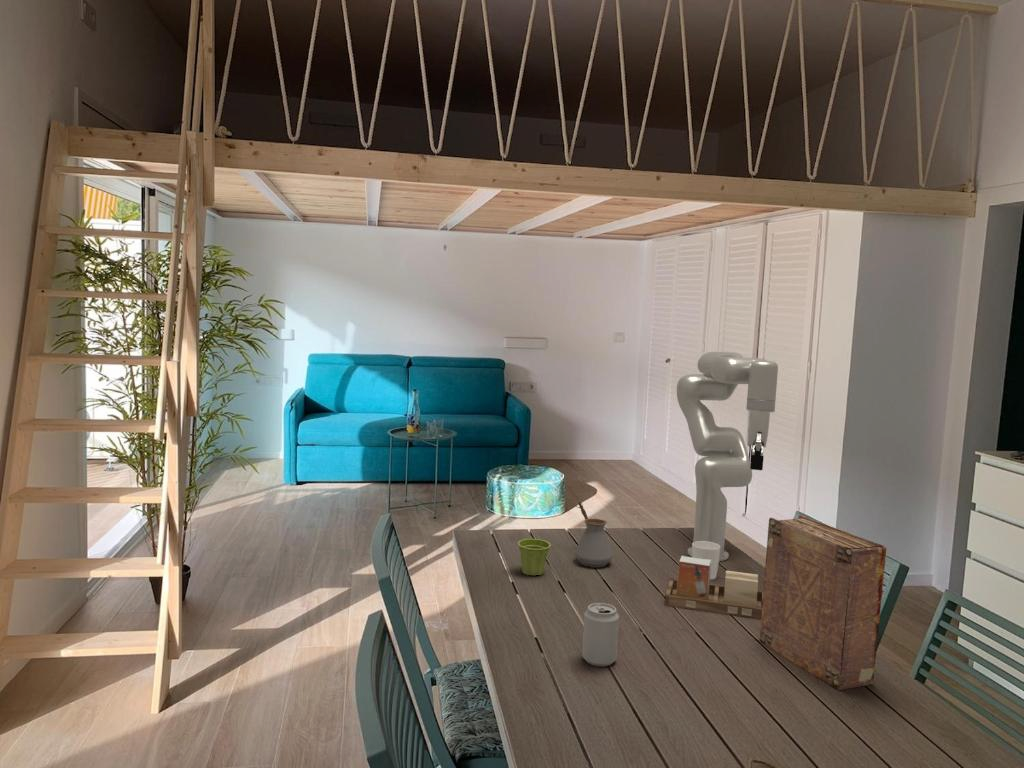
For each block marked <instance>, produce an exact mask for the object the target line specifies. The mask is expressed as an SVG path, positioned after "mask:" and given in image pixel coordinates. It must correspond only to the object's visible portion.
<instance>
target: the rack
mask: <svg viewBox="0 0 1024 768" xmlns="http://www.w3.org/2000/svg"><path fill="white" fill-rule="evenodd" d="M677 581H678V578H670V579H669V582H668V584H667V585H668V586H667V588H666V592H665V595H664V606H667V607H674V608H679V609H688V610H695V611H699V612H700V611H701V612H708V613H709V612H710V613H715V614H724V615H728V616H729V615H730V616H737V617H741V618H742V617H743V618H749V619H757V620H761V617H762V604H763V591H764V590H758V589H757V603H756V607H751V606H744V605H737V604H730V603H724V591H725V585H722V584H714V583H710V585H709V597H708V600H702V599H695V598H687V597H680V596H676V593H677Z"/></svg>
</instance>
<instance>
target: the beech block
mask: <svg viewBox="0 0 1024 768" xmlns="http://www.w3.org/2000/svg"><path fill="white" fill-rule="evenodd" d="M724 586H725V591H724V603H730V604H737V605H744V606H751V607H756V603H757V590H758V589H759V587H758V586H759V574H756V573H747V572H740V571H739V572H738V571H733V570H731V571H730V570H725V580H724Z"/></svg>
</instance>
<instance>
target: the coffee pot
mask: <svg viewBox="0 0 1024 768" xmlns="http://www.w3.org/2000/svg"><path fill="white" fill-rule="evenodd" d="M575 507H576V508H579V509H580V513H581V514H582V517H583V518H584V519H585V520H584V523H585V526H586V529H585V530H584V532H583V534H582V536H581V537H580V540H579V542H578V544H577V546H576V548H575V550H574V556H575V558H576V559H577V561H578V562H580V564H581V565H583V566H585V567H588V566H590V567H589V568H602V567H605V566H606V565H608V563H610V562H611V561H612V559H613V556H614V554H613V551H612V548H611V545H610V544H609V540H608V538H607V534H606V531H605V529H604V528H605V525H607V522H608V521H607V520H604V519H598V518H589V517H588V515H587V512H586V510H585V509H584V505H583V503H582V502H577V503H576V504H575Z"/></svg>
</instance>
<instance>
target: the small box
mask: <svg viewBox="0 0 1024 768" xmlns="http://www.w3.org/2000/svg"><path fill="white" fill-rule="evenodd" d="M710 572H711V560H709V559H699V558H692V557H691V556H685V555H681V556H680V559H679V561H678V570H677V579H678V581H677V593H676V596H680V597H687V598H695V599H702V600H708V597H709V585H710V584H711V583H710V582H711V580H710Z"/></svg>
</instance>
